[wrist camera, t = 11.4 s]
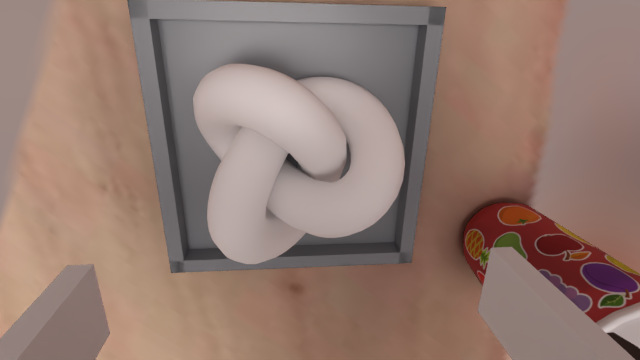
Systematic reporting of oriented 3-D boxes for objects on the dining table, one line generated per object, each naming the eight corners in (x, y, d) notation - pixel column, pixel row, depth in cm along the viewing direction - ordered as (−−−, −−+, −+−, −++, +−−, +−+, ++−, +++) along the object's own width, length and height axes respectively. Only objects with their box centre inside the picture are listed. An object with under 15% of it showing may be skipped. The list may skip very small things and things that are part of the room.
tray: (401, 245, 31) (411, 262, 29) (179, 253, 29) (171, 272, 27) (430, 8, 24) (446, 7, 22) (142, 1, 22) (127, -2, 20)
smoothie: (498, 285, 34) (756, 595, 15) (427, 249, 32) (631, 563, 13) (562, 213, 31) (957, 478, 13) (490, 169, 29) (846, 414, 11)
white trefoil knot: (343, 234, 29) (368, 316, 21) (185, 202, 27) (143, 281, 18) (393, 91, 25) (448, 124, 17) (213, 40, 23) (174, 48, 15)
